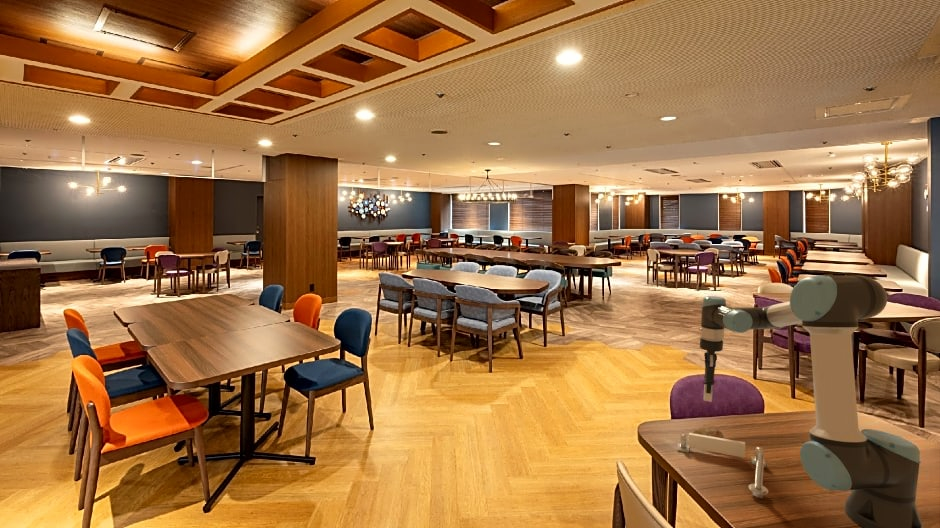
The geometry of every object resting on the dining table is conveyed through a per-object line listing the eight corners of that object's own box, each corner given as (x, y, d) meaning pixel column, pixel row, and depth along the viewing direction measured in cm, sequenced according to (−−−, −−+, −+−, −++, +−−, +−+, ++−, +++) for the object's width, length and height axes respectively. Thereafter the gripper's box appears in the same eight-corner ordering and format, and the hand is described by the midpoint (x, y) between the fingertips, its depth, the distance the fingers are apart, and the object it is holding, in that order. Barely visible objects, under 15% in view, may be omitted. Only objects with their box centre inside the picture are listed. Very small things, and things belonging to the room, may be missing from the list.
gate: (744, 457, 152) (745, 444, 152) (688, 447, 159) (689, 434, 158) (743, 455, 154) (744, 442, 153) (688, 445, 160) (689, 432, 160)
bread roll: (691, 452, 165) (692, 437, 161) (693, 430, 173) (694, 415, 169) (723, 459, 161) (724, 443, 157) (723, 436, 168) (725, 420, 165)
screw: (760, 502, 130) (744, 492, 135) (771, 498, 132) (755, 489, 137) (763, 457, 129) (747, 449, 133) (774, 454, 131) (758, 446, 135)
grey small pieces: (765, 467, 149) (766, 452, 148) (677, 450, 159) (678, 436, 159) (763, 460, 153) (764, 446, 152) (677, 445, 163) (678, 431, 163)
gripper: (699, 333, 178) (695, 392, 181) (701, 341, 167) (697, 405, 169) (721, 335, 175) (717, 395, 178) (724, 344, 164) (720, 408, 166)
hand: (707, 400), depth 174 cm, fingers closed
